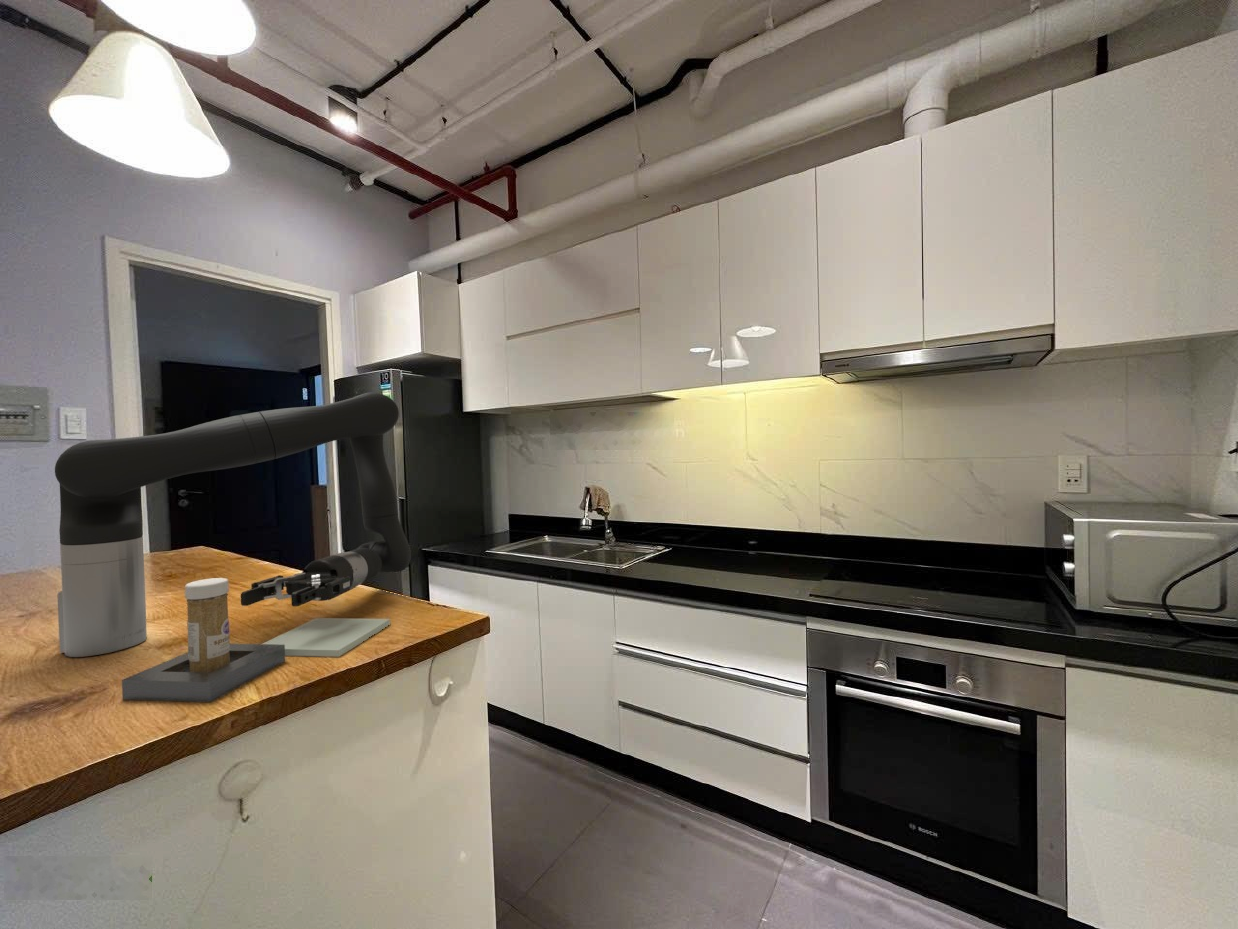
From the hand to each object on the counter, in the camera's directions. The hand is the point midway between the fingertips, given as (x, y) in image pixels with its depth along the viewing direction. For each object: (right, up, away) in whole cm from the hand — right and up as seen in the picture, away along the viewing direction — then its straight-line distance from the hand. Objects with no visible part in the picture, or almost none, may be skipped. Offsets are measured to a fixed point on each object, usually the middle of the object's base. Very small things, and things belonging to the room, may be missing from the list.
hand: (268, 599), depth 77 cm
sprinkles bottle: (-1, -8, -10) cm, 13 cm away
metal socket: (-1, -8, -10) cm, 13 cm away
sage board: (+7, -8, +4) cm, 11 cm away
